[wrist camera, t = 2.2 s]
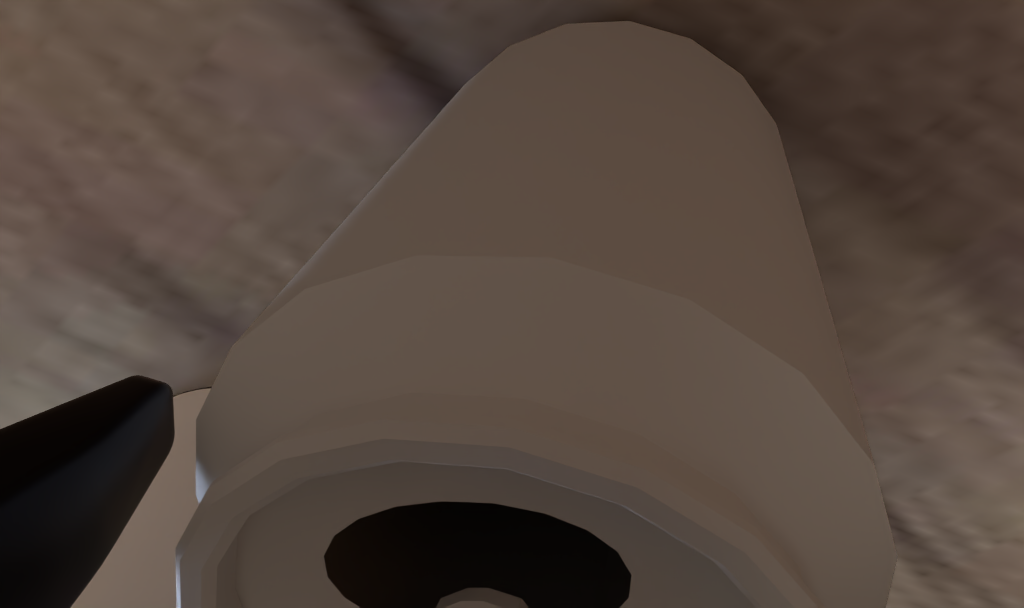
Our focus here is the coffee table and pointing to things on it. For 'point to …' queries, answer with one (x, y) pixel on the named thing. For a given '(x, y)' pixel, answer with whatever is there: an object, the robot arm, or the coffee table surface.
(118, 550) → the cylinder container
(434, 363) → the can
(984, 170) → the coffee table surface
